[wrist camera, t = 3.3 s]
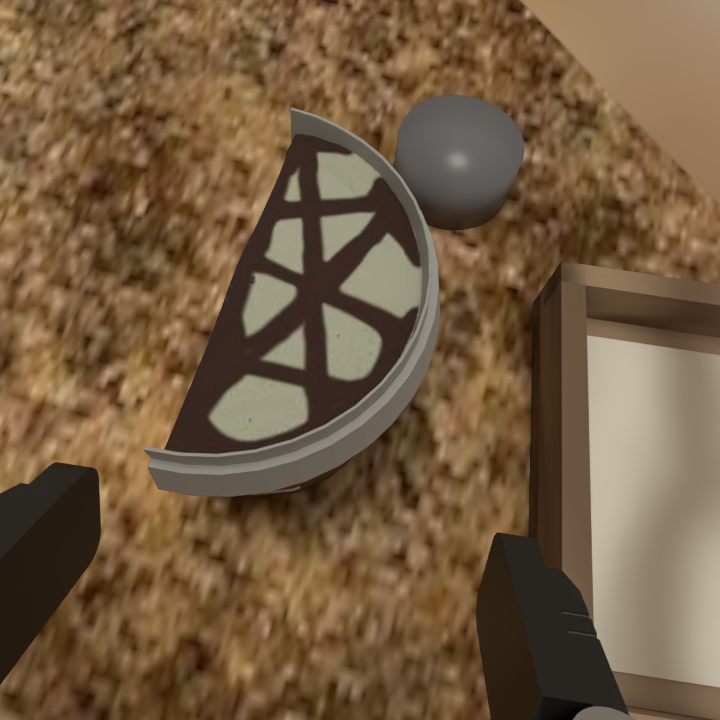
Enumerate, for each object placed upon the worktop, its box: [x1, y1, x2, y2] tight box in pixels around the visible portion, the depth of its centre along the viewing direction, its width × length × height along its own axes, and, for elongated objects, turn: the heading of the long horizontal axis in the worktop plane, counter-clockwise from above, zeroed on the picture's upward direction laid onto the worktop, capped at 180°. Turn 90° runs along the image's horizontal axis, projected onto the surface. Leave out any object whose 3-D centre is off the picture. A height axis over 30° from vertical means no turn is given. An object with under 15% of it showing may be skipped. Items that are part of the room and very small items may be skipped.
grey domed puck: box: [394, 95, 524, 230], centre depth 28 cm, size 6×6×3 cm
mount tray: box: [529, 261, 720, 720], centre depth 22 cm, size 11×17×4 cm, turn 172°
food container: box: [144, 108, 440, 497], centre depth 20 cm, size 12×6×10 cm, turn 165°
